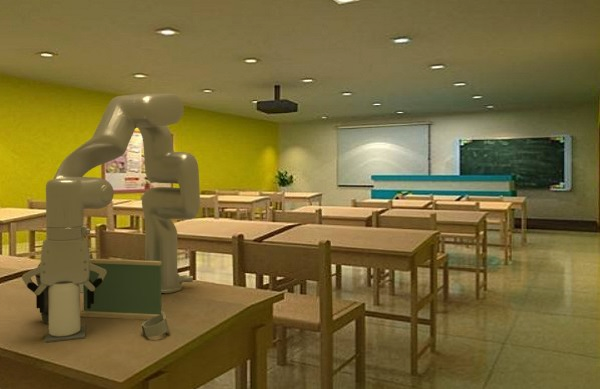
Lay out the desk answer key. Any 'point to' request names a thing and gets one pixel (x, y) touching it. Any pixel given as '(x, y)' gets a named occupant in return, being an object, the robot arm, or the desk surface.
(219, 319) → the desk surface
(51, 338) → the grey mat
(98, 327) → the desk surface
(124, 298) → the chalkboard panel
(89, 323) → the desk surface
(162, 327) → the wristwatch
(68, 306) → the can
